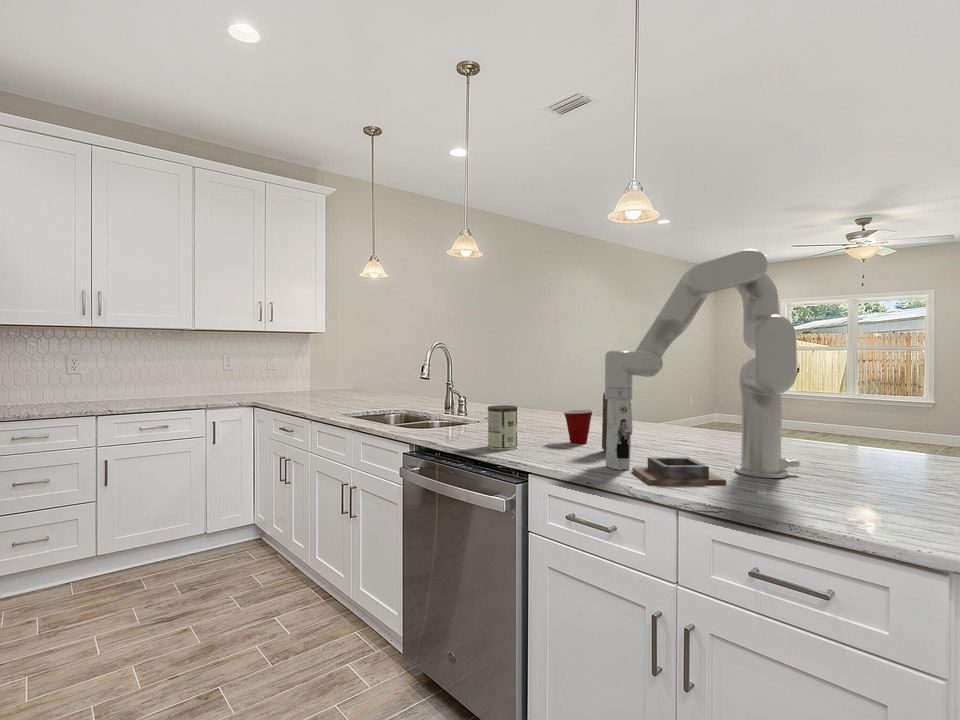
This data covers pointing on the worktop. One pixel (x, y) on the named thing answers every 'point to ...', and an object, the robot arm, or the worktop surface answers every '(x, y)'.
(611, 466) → the skincare box
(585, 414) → the plastic cup
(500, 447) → the coffee can
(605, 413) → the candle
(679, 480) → the holder
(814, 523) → the worktop surface
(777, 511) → the worktop surface
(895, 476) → the worktop surface
